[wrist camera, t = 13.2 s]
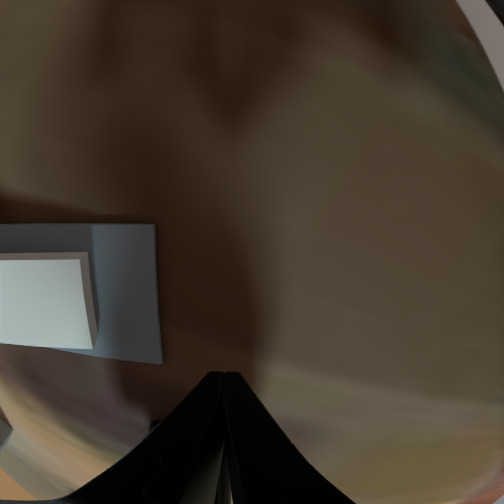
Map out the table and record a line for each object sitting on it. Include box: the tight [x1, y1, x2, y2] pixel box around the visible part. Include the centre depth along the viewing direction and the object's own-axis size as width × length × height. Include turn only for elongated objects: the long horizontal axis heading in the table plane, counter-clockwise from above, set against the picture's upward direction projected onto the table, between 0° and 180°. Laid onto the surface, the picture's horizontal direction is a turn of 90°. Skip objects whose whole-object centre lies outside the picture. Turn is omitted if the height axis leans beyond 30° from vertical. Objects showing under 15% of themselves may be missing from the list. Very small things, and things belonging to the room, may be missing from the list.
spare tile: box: [0, 252, 98, 349], centre depth 14 cm, size 2×5×8 cm
